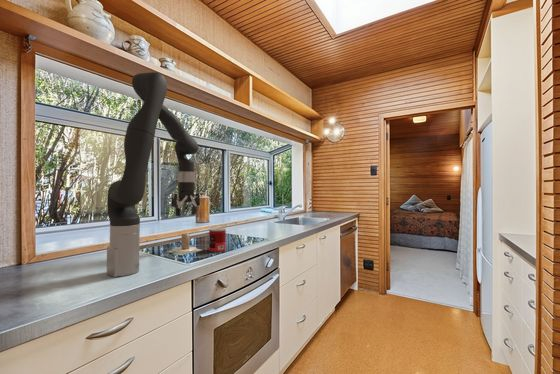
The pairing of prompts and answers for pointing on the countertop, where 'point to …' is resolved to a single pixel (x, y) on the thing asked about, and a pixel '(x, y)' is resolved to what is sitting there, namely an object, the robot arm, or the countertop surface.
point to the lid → (185, 245)
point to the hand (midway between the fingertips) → (186, 215)
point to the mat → (183, 253)
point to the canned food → (217, 239)
